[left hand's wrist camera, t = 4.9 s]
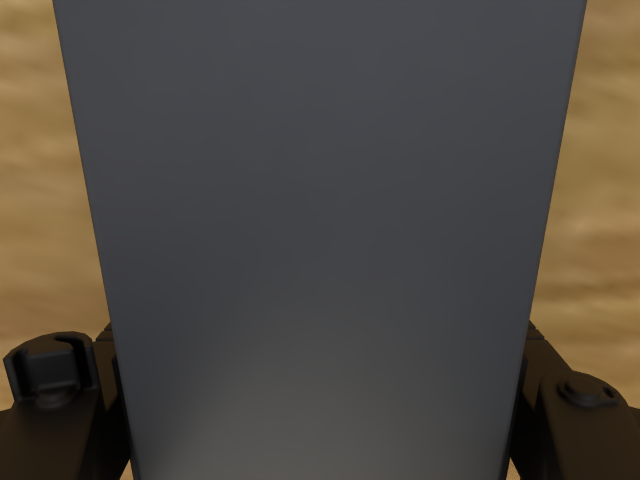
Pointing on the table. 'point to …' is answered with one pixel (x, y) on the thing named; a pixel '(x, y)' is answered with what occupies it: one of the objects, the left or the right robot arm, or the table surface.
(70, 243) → the table surface
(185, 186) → the bar
